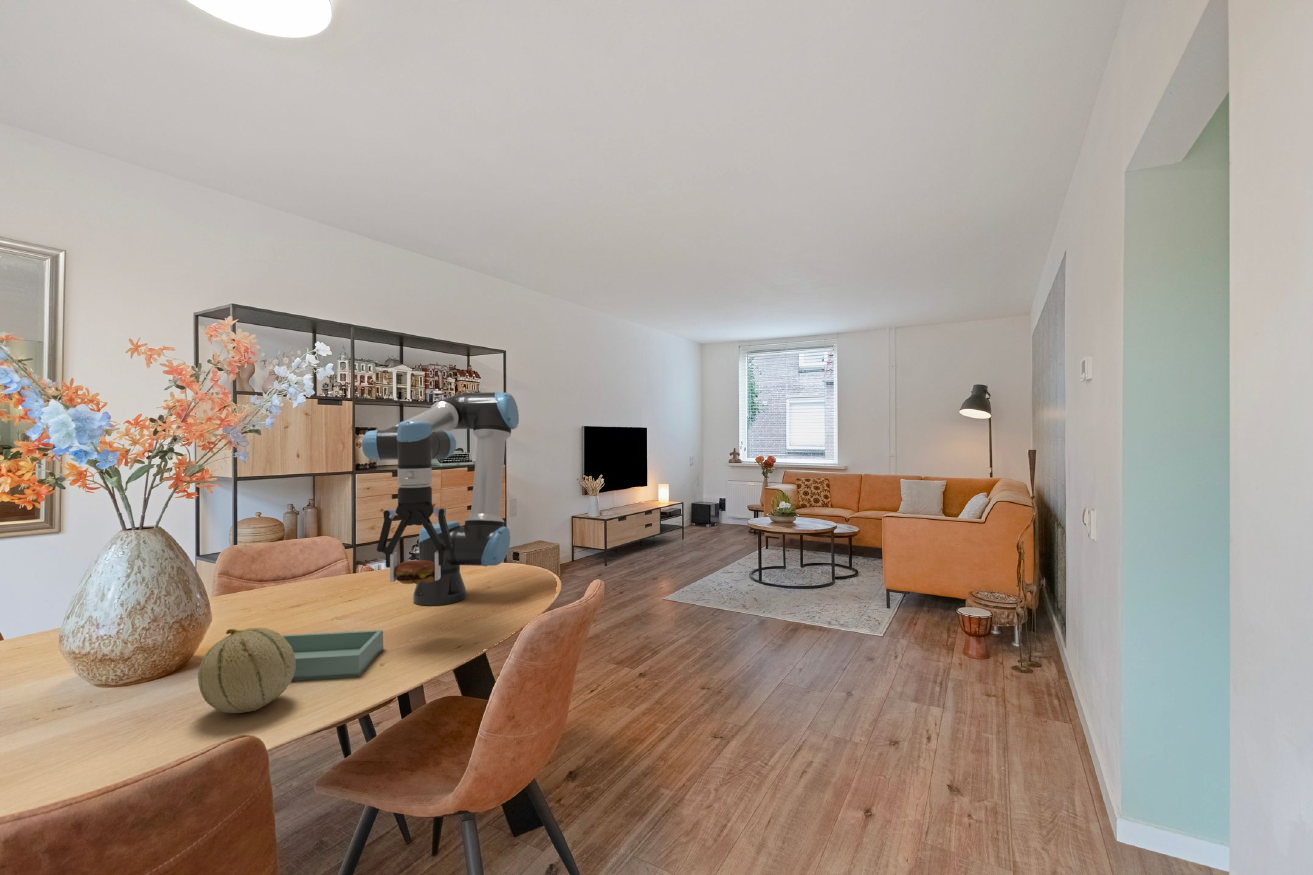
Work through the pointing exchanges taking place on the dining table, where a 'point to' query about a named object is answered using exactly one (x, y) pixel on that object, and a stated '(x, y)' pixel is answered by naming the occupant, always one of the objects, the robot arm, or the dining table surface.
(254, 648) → the cantaloupe
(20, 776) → the dining table surface
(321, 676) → the teal tray
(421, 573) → the burger
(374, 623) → the dining table surface
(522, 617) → the dining table surface
